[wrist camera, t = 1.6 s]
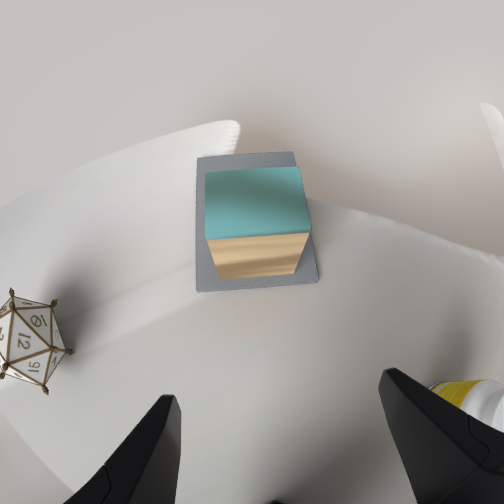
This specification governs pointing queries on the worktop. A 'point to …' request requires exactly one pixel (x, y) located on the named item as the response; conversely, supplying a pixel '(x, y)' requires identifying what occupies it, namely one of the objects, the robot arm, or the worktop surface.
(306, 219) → the oak block
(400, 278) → the worktop surface
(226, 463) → the worktop surface
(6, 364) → the game die
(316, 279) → the mat
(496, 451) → the robot arm
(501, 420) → the supplement bottle
